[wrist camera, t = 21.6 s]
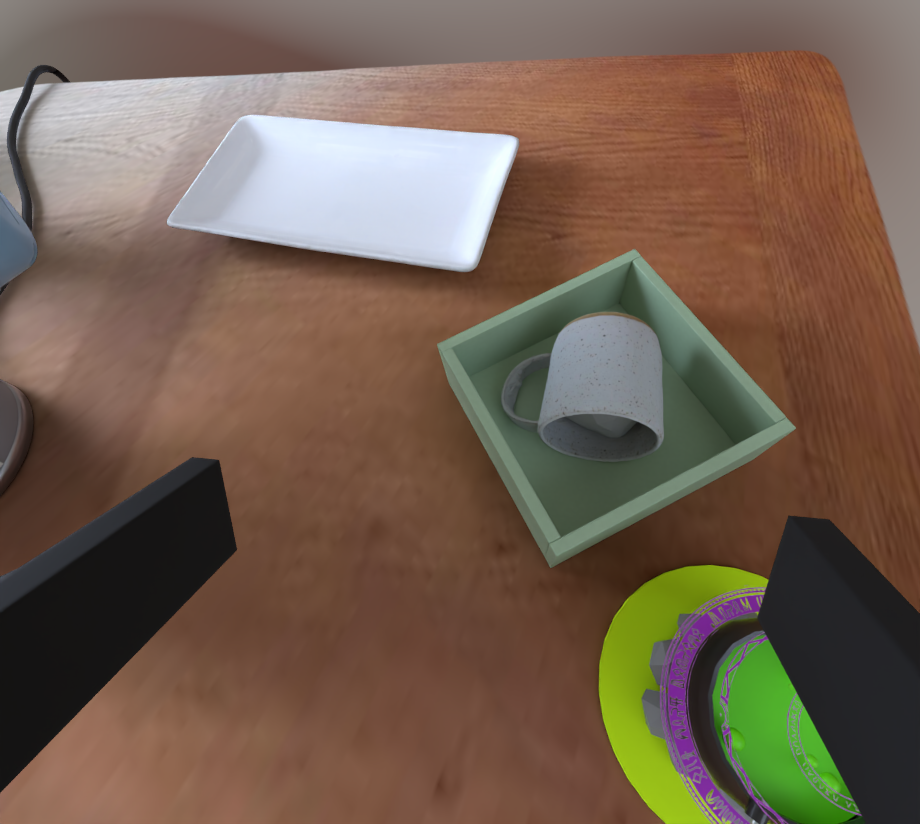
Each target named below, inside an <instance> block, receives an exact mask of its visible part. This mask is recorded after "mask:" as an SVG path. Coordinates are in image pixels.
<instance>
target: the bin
mask: <svg viewBox="0 0 920 824" xmlns="http://www.w3.org/2000/svg"><path fill="white" fill-rule="evenodd" d="M596 312H618V313H624V314H628V315H632V316H635V317H637V318H638V319H640V320H642V321H644V322H645V323H647V324H648V325H649V326H650V327H651V328H652V329H653V330H654V332H655V333H656V335H657V338H658V340H659V344H660V349H661V353H662V387H663V427H664V439H663V442H662V444H661V445H660V447H659V448H658V449H657V450H656V451H655V452H653V453H651V454H650V455H647V456H645V457H642V458H640V459H634V460H628V461H618V462H609V461H606V462H603V461H593V460H586V459H582V458H577V457H573V456H569V455H566V454H563V453H561V452H559V451H557V450H554V449H553V448H551V447H549V446H547V445H546V444H545V443H544V442H543V441H542V440H541V438H540V437H539V434H538V433H535V432H531V431H527V430H524V429H522V428H520V427H518V426H517V425H516V424H515V423H514V422H513V421H512V420H511V419H510V418H509V417H508V416H507V415H506V413H505V412H504V411H503V408H502V405H501V393H502V389H503V385H504V383H505V381H506V379H507V377H508V375H509V374H510V372H511V371H512V370H513V369H514V368H515V367H516V366H517V365H518V364H520V363H521V362H522V361H524V360H526V359H528V358H530V357H532V356H535V355H540V354H545V353H552V350H553V347H554V344H555V341H556V339H557V337H558V335H559V333H560V332H561V330H562V329H563V328H564V327H565V326H566V325H567V324H568V323H570V322H571V321H573V320H574V319H576V318H579V317H581V316H584V315H587V314H591V313H596ZM437 346H438V349H439V353H440V356H441V359H442V362H443V366H444V369H445V372H446V375H447V378H448V382H449V384H450V386H451V388H452V390H453V391H454V393H455V395H456V397H457V399H458V400H459V402H460V404H461V406H462V408H463V410H464V411H465V413H466V415H467V417H468V419H469V420H470V422H471V424H472V426H473V428H474V430H475V431H476V433H477V435H478V437H479V439H480V440H481V442H482V444H483V446H484V448H485V450H486V451H487V453H488V455H489V457H490V459H491V460H492V462H493V464H494V466H495V468H496V470H497V471H498V473H499V475H500V477H501V479H502V480H503V482H504V484H505V486H506V488H507V490H508V491H509V493H510V495H511V497H512V499H513V501H514V502H515V504H516V506H517V508H518V510H519V511H520V513H521V515H522V517H523V519H524V521H525V522H526V524H527V526H528V528H529V530H530V531H531V533H532V535H533V537H534V539H535V541H536V542H537V544H538V546H539V548H540V550H541V551H542V553H543V555H544V557H545V559H546V561H547V562H548V564H549V566H550V568H552V567H554V566H556V565H557V564H559V563H561V562H563V561H565V560H567V559H569V558H571V557H572V556H574V555H576V554H578V553H580V552H582V551H584V550H585V549H587V548H589V547H591V546H593V545H595V544H597V543H598V542H600V541H602V540H604V539H606V538H608V537H610V536H612V535H613V534H615V533H617V532H619V531H621V530H623V529H625V528H626V527H628V526H630V525H632V524H634V523H636V522H638V521H639V520H641V519H643V518H645V517H647V516H649V515H651V514H653V513H654V512H656V511H658V510H660V509H662V508H664V507H666V506H667V505H669V504H671V503H673V502H675V501H677V500H679V499H681V498H682V497H684V496H686V495H688V494H690V493H692V492H694V491H695V490H697V489H699V488H701V487H703V486H705V485H707V484H708V483H710V482H712V481H714V480H716V479H718V478H720V477H722V476H723V475H725V474H727V473H729V472H731V471H733V470H735V469H736V468H738V467H740V466H742V465H744V464H746V463H748V462H750V461H751V460H753V459H755V458H756V457H757V456H759V455H760V454H761V453H763V452H764V451H766V450H767V449H768V448H770V447H771V446H773V445H774V444H775V443H777V442H778V441H780V440H781V439H782V438H784V437H785V436H786V435H788V434H789V433H791V432H792V431H793V430H795V429H796V427H795V426H794V425H793V424H792V423H791V422H790V421H789V420H788V419H787V418H786V416H785V415H784V414H783V413H782V412H781V410H780V409H779V408H778V407H777V406H776V405H775V404H774V403H773V402H772V401H771V399H770V398H769V397H768V396H767V395H766V394H765V393H764V392H763V391H762V389H761V388H760V387H759V386H758V385H757V384H756V383H755V382H754V381H753V379H752V378H751V377H750V376H749V375H748V374H747V373H746V372H745V371H744V370H743V368H742V367H741V366H740V365H739V364H738V363H737V362H736V361H735V360H734V358H733V357H732V356H731V355H730V354H729V353H728V352H727V351H726V350H725V348H724V347H723V346H722V345H721V344H720V343H719V342H718V341H717V340H716V339H715V337H714V336H713V335H712V334H711V333H710V332H709V331H708V330H707V329H706V327H705V326H704V325H703V324H702V323H701V322H700V321H699V320H698V319H697V317H696V316H695V315H694V314H693V313H692V312H691V311H690V310H689V309H688V308H687V306H686V305H685V304H684V303H683V302H682V301H681V300H680V299H679V298H678V296H677V295H676V294H675V293H674V292H673V291H672V290H671V289H670V288H669V287H668V285H667V284H666V283H665V282H664V281H663V280H662V279H661V278H660V277H659V275H658V274H657V273H656V272H655V271H654V270H653V269H652V268H651V267H650V265H649V264H648V263H647V262H646V261H645V260H644V259H643V258H642V257H641V255H640V254H639V253H638V252H637V251H636V250H635V249H634V250H632V251H630V252H627V253H625V254H623V255H621V256H619V257H617V258H615V259H613V260H611V261H609V262H607V263H605V264H603V265H600V266H598V267H596V268H594V269H592V270H590V271H588V272H586V273H584V274H582V275H580V276H578V277H576V278H573V279H571V280H569V281H567V282H565V283H563V284H561V285H559V286H557V287H555V288H553V289H551V290H549V291H546V292H544V293H542V294H540V295H538V296H536V297H534V298H532V299H530V300H528V301H526V302H524V303H522V304H519V305H517V306H515V307H513V308H511V309H509V310H507V311H505V312H503V313H501V314H499V315H497V316H495V317H492V318H490V319H488V320H486V321H484V322H482V323H480V324H478V325H476V326H474V327H472V328H470V329H468V330H465V331H463V332H461V333H459V334H457V335H455V336H453V337H451V338H449V339H447V340H445V341H443V342H441V343H439V344H437ZM548 372H549V367H548V368H543V369H540V370H538V371H535V372H533V373H531V374H530V375H528V376H527V377H526V378H525V379H524V380H523V381H522V386H521V387H520V388H519V391H518V394H517V397H516V401H515V404H514V409H513V410H514V414H515V415H517V416H519V417H521V418H524V419H528V420H531V421H538V420H539V417H540V412H541V407H542V402H543V397H544V392H545V388H546V383H547V379H548Z"/></svg>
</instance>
